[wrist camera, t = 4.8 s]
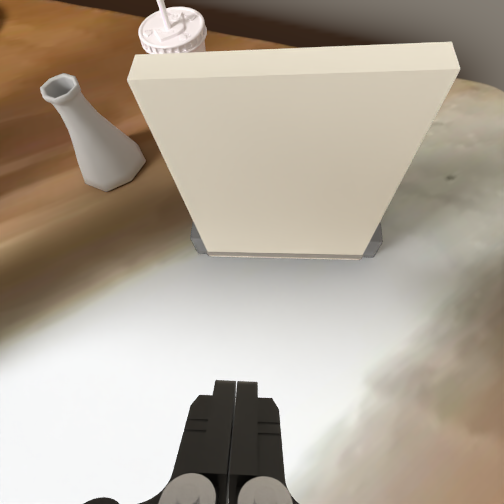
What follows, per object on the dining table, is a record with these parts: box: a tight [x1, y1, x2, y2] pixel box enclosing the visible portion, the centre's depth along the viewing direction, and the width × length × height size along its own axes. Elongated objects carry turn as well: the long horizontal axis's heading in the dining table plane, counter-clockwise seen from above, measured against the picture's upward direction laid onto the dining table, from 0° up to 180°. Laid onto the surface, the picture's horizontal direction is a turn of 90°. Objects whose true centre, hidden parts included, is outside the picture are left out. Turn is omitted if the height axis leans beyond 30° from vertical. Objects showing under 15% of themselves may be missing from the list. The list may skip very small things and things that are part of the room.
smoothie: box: [139, 0, 207, 54], centre depth 33 cm, size 6×6×14 cm
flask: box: [40, 73, 146, 192], centre depth 32 cm, size 7×7×10 cm
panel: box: [127, 42, 460, 260], centre depth 19 cm, size 12×2×16 cm, turn 86°
